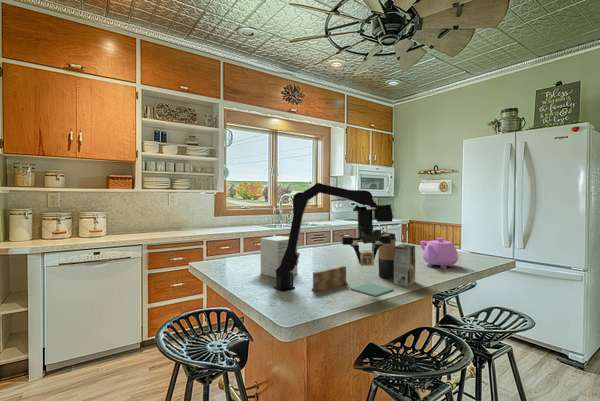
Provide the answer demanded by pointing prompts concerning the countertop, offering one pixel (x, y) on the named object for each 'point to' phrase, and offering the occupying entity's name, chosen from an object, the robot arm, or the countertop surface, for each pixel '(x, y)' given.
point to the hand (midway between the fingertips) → (366, 261)
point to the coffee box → (404, 264)
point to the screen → (329, 278)
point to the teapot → (439, 253)
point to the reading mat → (372, 289)
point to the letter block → (366, 258)
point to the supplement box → (273, 254)
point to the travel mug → (386, 258)
